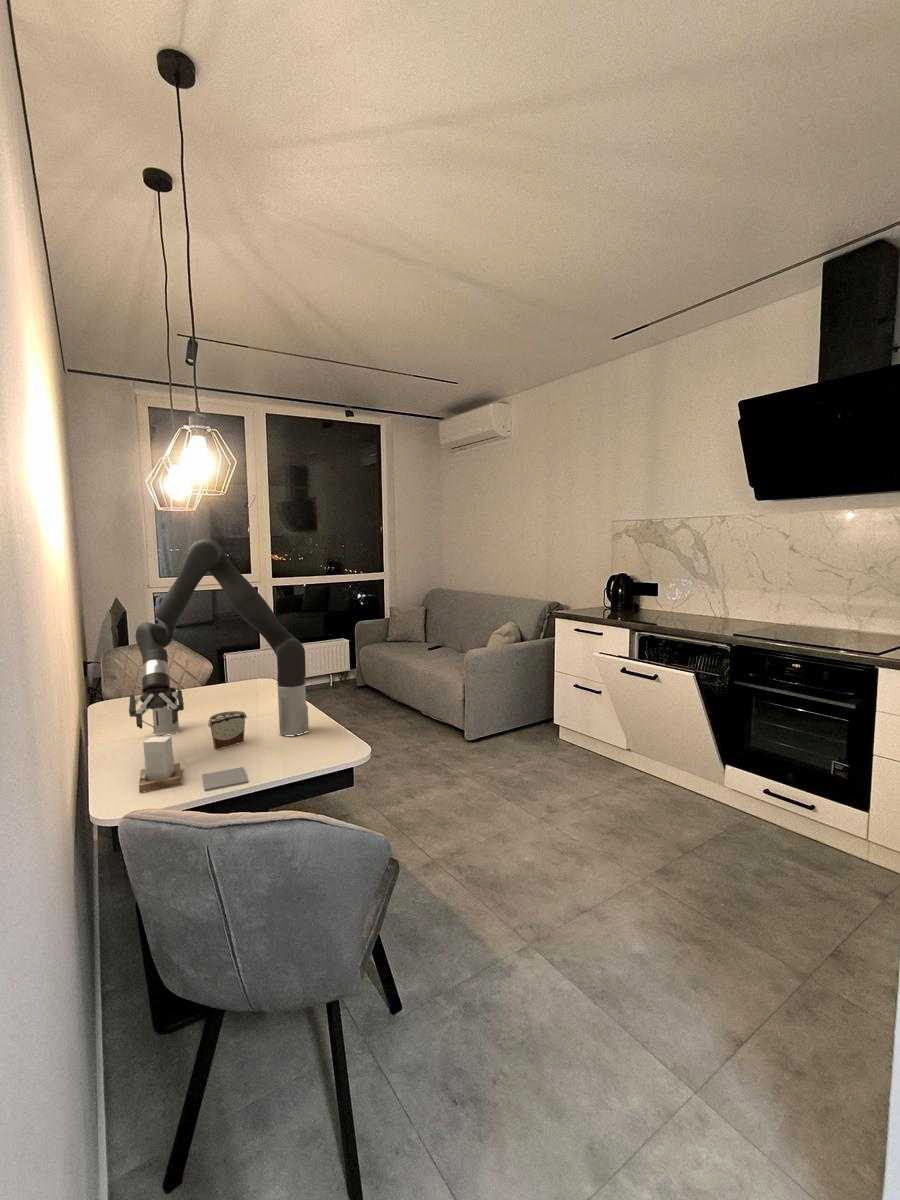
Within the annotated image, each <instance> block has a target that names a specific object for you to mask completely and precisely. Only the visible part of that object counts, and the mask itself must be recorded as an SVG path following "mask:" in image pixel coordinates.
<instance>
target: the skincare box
mask: <svg viewBox="0 0 900 1200" xmlns="http://www.w3.org/2000/svg"><path fill="white" fill-rule="evenodd" d="M172 740H173V738H172V736H155V737H154V736H153V737H152V736H151V737H149V738H147V739H146V740H145V741H143V753H144V754H143V755H144V767H145V768H144V769H146V781H147V782H149V781H155V780H160V779H166V778H171V777H175V775H174V764H175V763H174V753H173V749H174V748H173V741H172Z"/></svg>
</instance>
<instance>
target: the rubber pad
mask: <svg viewBox="0 0 900 1200" xmlns="http://www.w3.org/2000/svg"><path fill="white" fill-rule="evenodd" d="M201 776H202V782H203V783H202V784H203V788H204V792H207V791H213V790H217V789H223V788H227V787H232V786H238V785H243V784H248V783H249V779H248V777H247V774H246V771H245V768H244V766H239V767H234V768H230V769H223V770H219V771H214V772H207V773H203V774H201Z"/></svg>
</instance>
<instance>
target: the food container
mask: <svg viewBox="0 0 900 1200" xmlns="http://www.w3.org/2000/svg"><path fill="white" fill-rule="evenodd" d="M247 718H248V717H247V714H246V712H244V711H242V710H240V711H239V710H234V711H233V710H231V711H230V710H228V711H224V712H219V713H216V714H215V713H214V714H213V715H211V716H210V717H209V719H208V722H207V726H208V727H209V728H210V731H211V736H212V738H211V739H212V743H213V749H214V750H215V751H216V750H220V748H221V749H224V748H223V747H225V748H227V747H231V745H232V746H235V745H234V744H236V745H238V744H237V743H240V744H242V743H241V742H243V743H245V725H246V719H247Z"/></svg>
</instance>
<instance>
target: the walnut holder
mask: <svg viewBox="0 0 900 1200" xmlns="http://www.w3.org/2000/svg"><path fill="white" fill-rule="evenodd" d="M174 775H175V777H171V778H166V779H160V780H155V781H149V782H147V781H146V768H142V769H140V774H139V783H138V788H139V789H138V790H139V793H140V792H141V793H144V792H143V791H146V792H150V791H149V790H151V791H155V790H161V789H167V788H173V787H177V786H181V785H182V778H181V763H180V762H176V763H174Z"/></svg>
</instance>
